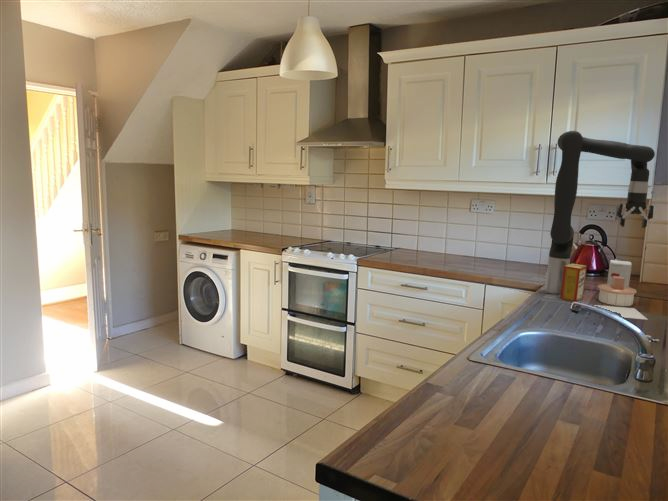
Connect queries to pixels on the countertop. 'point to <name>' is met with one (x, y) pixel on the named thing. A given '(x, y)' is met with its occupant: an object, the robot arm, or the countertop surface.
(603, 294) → the bowl
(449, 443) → the countertop surface
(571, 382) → the countertop surface
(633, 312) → the mat
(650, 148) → the robot arm
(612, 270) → the supplement box
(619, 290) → the lid
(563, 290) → the baking soda box
